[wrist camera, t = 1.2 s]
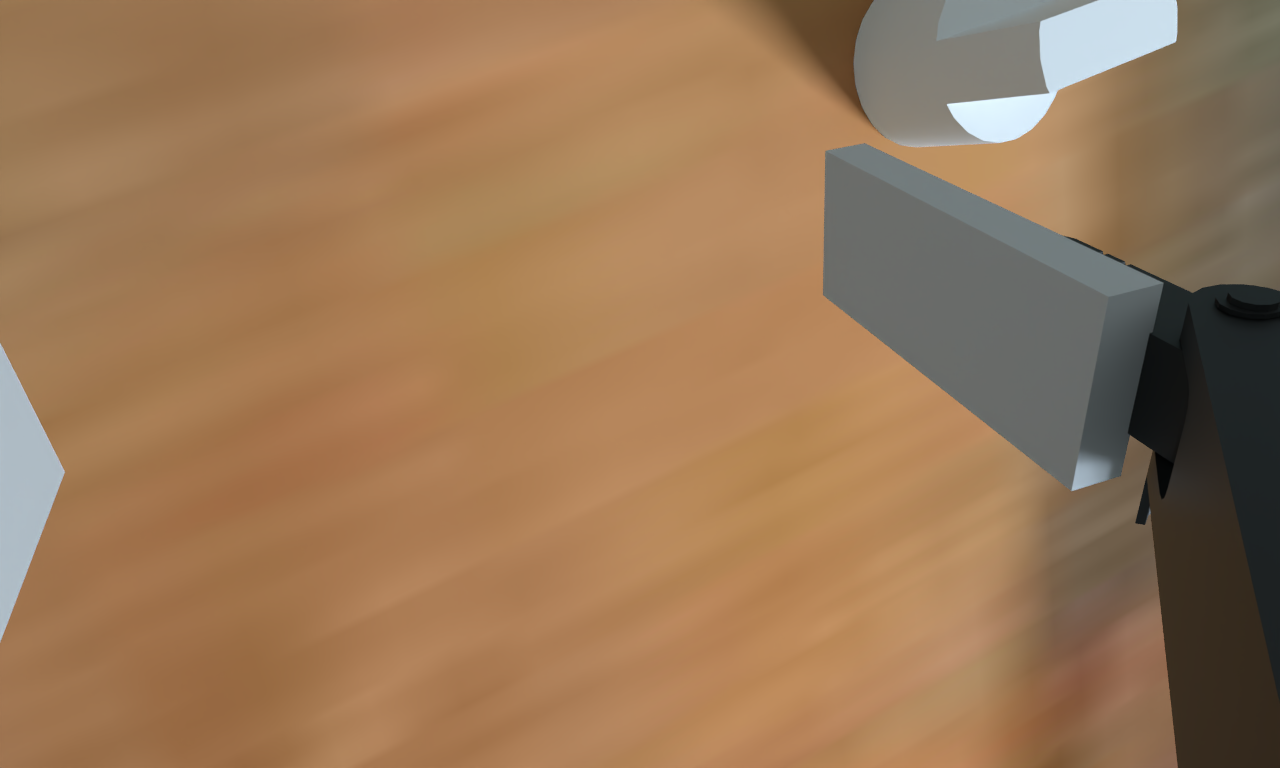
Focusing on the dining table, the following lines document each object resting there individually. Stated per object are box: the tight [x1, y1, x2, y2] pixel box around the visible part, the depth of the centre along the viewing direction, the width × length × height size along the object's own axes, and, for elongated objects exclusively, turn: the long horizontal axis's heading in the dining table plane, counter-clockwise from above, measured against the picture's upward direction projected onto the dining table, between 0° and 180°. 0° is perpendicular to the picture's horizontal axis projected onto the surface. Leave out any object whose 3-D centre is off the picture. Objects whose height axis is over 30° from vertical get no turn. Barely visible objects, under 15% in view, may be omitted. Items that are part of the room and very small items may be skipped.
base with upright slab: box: [853, 0, 1177, 147], centre depth 46 cm, size 9×9×12 cm
